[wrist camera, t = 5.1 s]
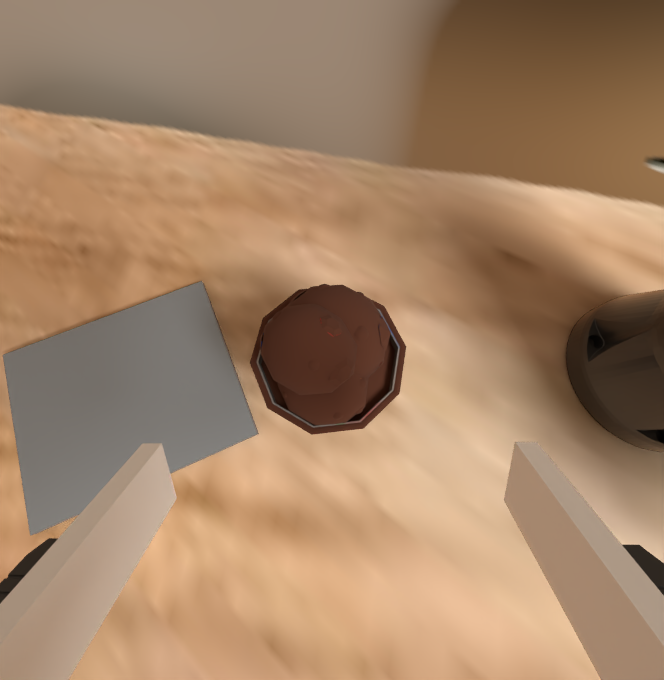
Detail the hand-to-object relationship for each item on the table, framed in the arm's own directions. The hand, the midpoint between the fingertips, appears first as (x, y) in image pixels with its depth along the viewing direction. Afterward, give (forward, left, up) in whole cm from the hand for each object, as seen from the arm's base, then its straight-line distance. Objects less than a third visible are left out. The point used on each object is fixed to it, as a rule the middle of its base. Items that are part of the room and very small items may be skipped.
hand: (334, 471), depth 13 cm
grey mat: (+15, -13, -19) cm, 27 cm away
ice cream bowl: (-3, -7, -19) cm, 20 cm away
